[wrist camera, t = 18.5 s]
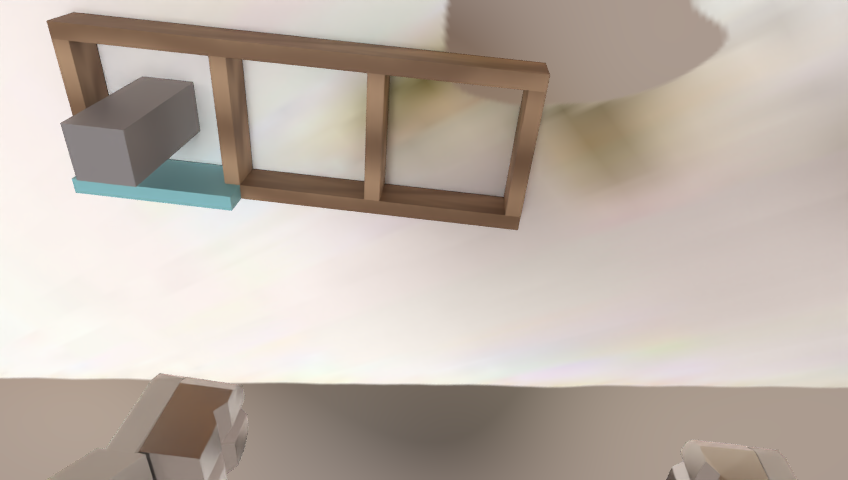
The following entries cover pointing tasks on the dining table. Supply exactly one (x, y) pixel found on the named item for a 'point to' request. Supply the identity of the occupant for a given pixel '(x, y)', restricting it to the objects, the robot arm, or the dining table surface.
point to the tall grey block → (131, 131)
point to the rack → (229, 47)
